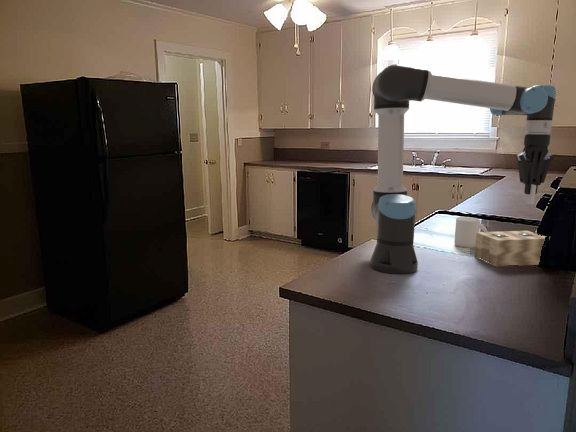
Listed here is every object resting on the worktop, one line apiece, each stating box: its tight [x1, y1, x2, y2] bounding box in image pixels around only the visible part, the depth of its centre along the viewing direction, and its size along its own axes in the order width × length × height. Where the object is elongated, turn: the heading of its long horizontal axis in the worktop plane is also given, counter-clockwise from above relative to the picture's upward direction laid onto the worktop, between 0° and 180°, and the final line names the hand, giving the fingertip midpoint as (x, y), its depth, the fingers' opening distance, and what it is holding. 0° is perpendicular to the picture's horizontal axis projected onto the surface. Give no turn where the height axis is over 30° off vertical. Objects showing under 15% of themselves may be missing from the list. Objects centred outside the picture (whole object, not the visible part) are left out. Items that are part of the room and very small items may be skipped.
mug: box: [453, 216, 488, 249], centre depth 170 cm, size 9×12×11 cm
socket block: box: [473, 230, 546, 267], centre depth 152 cm, size 20×12×9 cm, turn 99°
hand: (529, 203), depth 149 cm, fingers closed
